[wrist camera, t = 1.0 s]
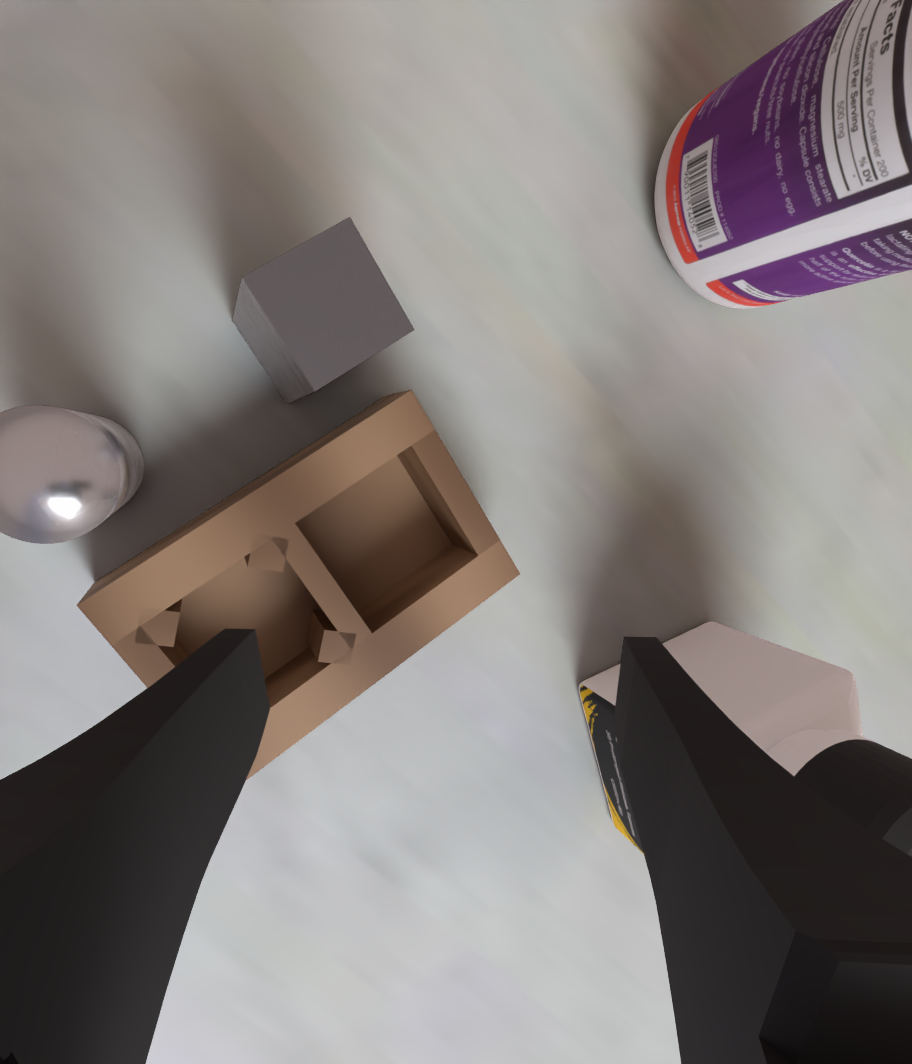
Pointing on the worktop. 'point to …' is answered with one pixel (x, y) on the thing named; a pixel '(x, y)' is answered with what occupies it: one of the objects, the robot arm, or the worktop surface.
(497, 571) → the socket block
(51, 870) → the robot arm
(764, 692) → the medicine bottle
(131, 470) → the round bit
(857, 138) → the pill bottle
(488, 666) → the worktop surface
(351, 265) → the square bit
